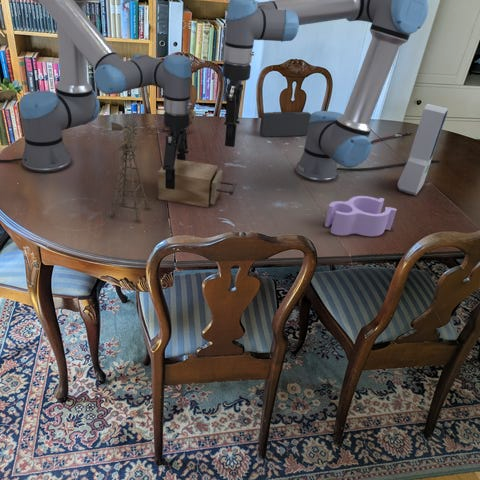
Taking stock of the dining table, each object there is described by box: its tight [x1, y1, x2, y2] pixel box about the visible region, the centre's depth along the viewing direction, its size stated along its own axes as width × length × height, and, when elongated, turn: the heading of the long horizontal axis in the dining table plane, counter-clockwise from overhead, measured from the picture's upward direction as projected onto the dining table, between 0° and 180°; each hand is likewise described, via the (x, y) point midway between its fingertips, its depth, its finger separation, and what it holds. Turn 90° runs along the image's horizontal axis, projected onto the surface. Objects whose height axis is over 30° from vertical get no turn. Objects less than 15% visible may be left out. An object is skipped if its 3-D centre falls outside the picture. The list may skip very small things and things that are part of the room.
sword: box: [370, 132, 414, 145], centre depth 214 cm, size 31×3×1 cm, turn 126°
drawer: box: [209, 169, 238, 205], centre depth 147 cm, size 20×10×8 cm, turn 80°
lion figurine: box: [161, 109, 197, 134], centre depth 194 cm, size 15×5×9 cm, turn 110°
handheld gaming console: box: [258, 111, 312, 137], centre depth 202 cm, size 23×3×10 cm, turn 108°
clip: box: [324, 195, 398, 237], centre depth 141 cm, size 20×12×7 cm, turn 109°
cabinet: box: [157, 158, 219, 208], centre depth 147 cm, size 16×11×9 cm
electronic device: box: [396, 103, 449, 196], centre depth 162 cm, size 12×8×30 cm, turn 148°
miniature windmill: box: [110, 111, 149, 222], centre depth 129 cm, size 9×8×30 cm
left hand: (175, 180), depth 148 cm, fingers closed on cabinet, 11 cm apart
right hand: (229, 145), depth 138 cm, fingers closed
